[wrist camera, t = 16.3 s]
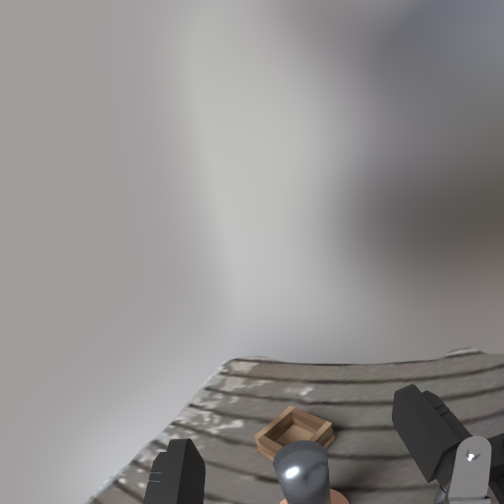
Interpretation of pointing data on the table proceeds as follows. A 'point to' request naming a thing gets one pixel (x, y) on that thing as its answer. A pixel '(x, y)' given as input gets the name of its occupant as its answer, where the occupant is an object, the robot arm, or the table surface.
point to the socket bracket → (293, 432)
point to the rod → (303, 472)
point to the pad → (337, 499)
